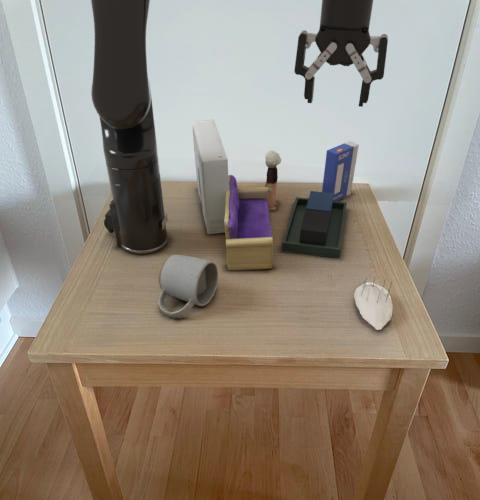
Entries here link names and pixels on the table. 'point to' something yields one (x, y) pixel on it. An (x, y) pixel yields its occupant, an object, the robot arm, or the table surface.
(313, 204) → the dark blue block
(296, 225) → the pad frame
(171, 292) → the ceramic mug
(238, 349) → the table surface
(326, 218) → the charcoal pad
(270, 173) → the grandmother figurine
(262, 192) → the toy sofa
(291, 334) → the table surface
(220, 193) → the skincare box
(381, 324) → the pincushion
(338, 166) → the blue and white box
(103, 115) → the robot arm
